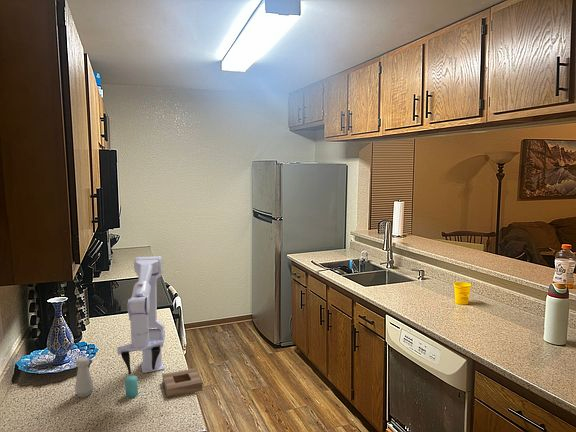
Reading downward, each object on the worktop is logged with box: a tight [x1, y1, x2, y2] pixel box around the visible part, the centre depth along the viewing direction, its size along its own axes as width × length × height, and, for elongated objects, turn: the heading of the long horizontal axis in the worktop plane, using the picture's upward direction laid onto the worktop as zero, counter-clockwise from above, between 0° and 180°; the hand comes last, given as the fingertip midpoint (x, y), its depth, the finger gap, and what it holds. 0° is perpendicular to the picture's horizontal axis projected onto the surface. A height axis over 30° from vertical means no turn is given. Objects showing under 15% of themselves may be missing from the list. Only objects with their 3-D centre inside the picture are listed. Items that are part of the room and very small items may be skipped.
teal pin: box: [124, 375, 139, 399], centre depth 152 cm, size 4×4×6 cm
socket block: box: [162, 368, 203, 399], centre depth 158 cm, size 12×12×3 cm
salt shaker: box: [74, 356, 94, 398], centre depth 152 cm, size 6×6×13 cm
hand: (141, 370), depth 150 cm, fingers open, 7 cm apart
